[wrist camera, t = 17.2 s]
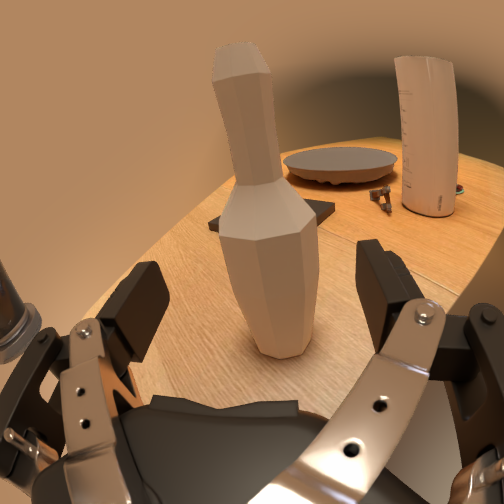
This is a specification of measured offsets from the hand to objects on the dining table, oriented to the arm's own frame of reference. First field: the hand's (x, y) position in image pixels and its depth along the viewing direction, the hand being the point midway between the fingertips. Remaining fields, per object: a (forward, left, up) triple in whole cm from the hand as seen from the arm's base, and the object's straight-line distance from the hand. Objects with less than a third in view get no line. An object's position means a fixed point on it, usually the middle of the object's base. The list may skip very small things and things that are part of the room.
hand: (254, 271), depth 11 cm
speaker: (+3, +42, -12) cm, 44 cm away
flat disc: (-20, +55, -12) cm, 60 cm away
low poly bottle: (-4, +6, -12) cm, 14 cm away
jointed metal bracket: (-5, +38, -12) cm, 40 cm away
